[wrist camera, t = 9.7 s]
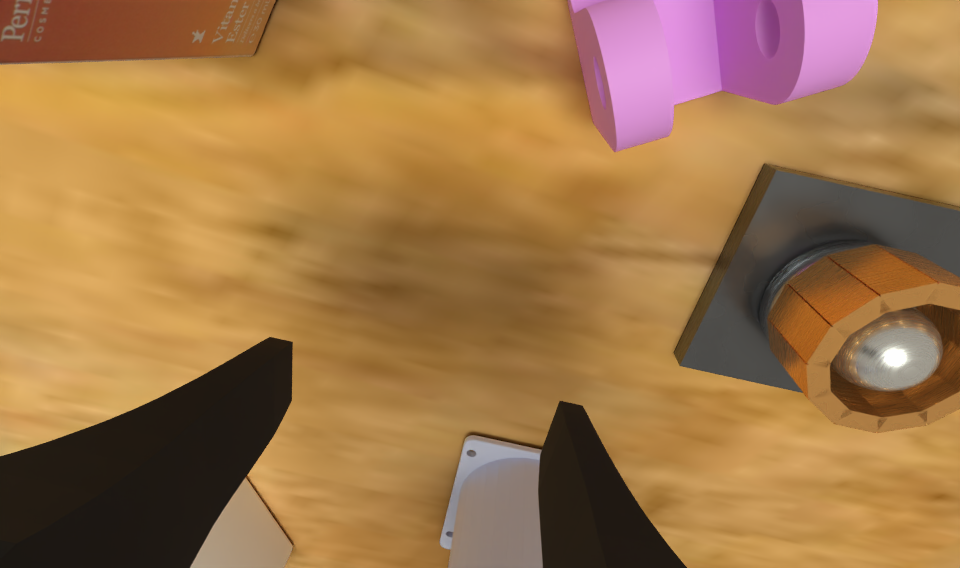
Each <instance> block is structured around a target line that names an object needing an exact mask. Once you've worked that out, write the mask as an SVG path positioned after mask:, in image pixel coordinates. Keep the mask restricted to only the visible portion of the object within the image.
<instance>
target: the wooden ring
mask: <svg viewBox="0 0 960 568" xmlns="http://www.w3.org/2000/svg"><path fill="white" fill-rule="evenodd" d="M787 283H788V284H786V285H785V287H784V288H783V290H782V292H781V294H780V295H779V297H778V299H777V301H776V302H775V304H774V306H773V308H772V309H771V311H770V313H769V315H768V318H767V324H768V334H769V345H770V350H771V351H772V353H773V354H774V355H775V357H776V358H777V359H778V360H779V362H780V363H781V364H782V366H783V367H784V368H785V370H786V371H787V372H788V373H789V375H790V376H791V377H792V379H793V380H794V381H795V383H796V384H797V385H798V386H799V388H800V389H801V390H802V392H803V393H804V394H805V396H806V397H807V398H808V399H809V401H811V402H812V403H813V404H814V405H815V406H816V407H817V408H818V409H819V410H820V411H821V412H822V413H823V414H824V415H825V416H826V417H827V418H828V419H829V420H830V421H831V422H833V423H834V424H837V425H841V426H846V427H850V428H855V429H860V430H864V431H869V432H873V433H876V432H877V433H881V432H887V431H894V430H900V429H907V428H913V427H920V426H926V423H927V424H928V425H929V424H931V423H933V422H935V421H937V420H939V419H941V418H943V417H945V416H946V415H948V414H950V413H952V412H954V411H956V410H958V409H960V277H958V276H956V275H955V274H953V273H951V272H949V271H947V270H946V269H944V268H942V267H940V266H939V265H937V264H935V263H933V262H931V261H930V260H928V259H926V258H924V257H922V256H921V255H919V254H917V253H913V252H909V251H904V250H900V249H895V248H891V247H886V246H882V245H877V244H875V245H874V244H872V245H868V246H863V247H859V248H855V249H851V250H846V251H842V252H838V253H834V254H830V255H827V257H826V256H824V257H823V258H821V259H820V260H819V261H817V262H816V263H814V264H813V265H811V266H810V267H809V268H807V269H806V270H804V271H803V272H801V273H800V274H799V275H797V276H796V277H794V278H793V279H792V280H790V281H789V282H787ZM911 307H916V309H917V310H919V311H920V312H922V313H923V314H924V315H925V316H927V317H928V318H929V319H930V320H931V321H932V323H933V324H934V325H935V327H936V328H937V330H938V332H939V334H940V336H941V340H942V344H943V354H942V358H941V361H940V364H939V366H938V368H937V369H936V371H935V372H934V373H933V374H932V375H931V376H930V377H929V378H928V379H927V380H925V381H924V382H922V383H921V384H919V385H917V386H914V387H912V388H908V389H905V390H900V391H887V392H885V391H875V390H870V389H866V388H863V387H860V386H858V385H855V384H853V383H851V382H849V381H848V380H846V379H845V378H843V377H842V376H841V375H840V374H838V373H837V372H836V371H835V370H834V369H833V368H832V366H831V365H830V363H831V362H832V360H833V359H834V357H835V356H836V354H837V353H838V351H839V350H840V348H841V347H842V345H843V344H844V343H845V341H846V340H847V338H848V337H849V335H851V334H852V333H854V332H856V331H857V330H859V329H860V328H862V327H864V326H865V325H867V324H868V323H870V322H872V321H873V320H875V319H877V318H878V317H880V316H881V315H883V314H885V313H887V312H891V311H896V310H901V309H906V308H911Z"/></svg>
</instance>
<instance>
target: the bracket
mask: <svg viewBox="0 0 960 568" xmlns="http://www.w3.org/2000/svg"><path fill="white" fill-rule="evenodd" d="M567 1H568V6H569V11H570V16H571V20H572V25H573V30H574V34H575V39H576V44H577V49H578V53H579V58H580V63H581V68H582V72H583V77H584V82H585V87H586V91H587V96H588V101H589V106H590V110H591V115H592V120H593V123H594V125H595V126H596V128H597V129H598V130H599V132H600V133H601V135H602V136H603V137H604V139H605V140H606V141H607V143H608V144H609V146H610V147H611V148H612V150H613V151H614V152H616V151H620V150H623V149H627V148H630V147H634V146H637V145H640V144H644V143H647V142H651V141H654V140H658V139H661V138H664V137H667V136H669V135H670V133H671V130H672V126H673V118H674V105H676V104H679V103H683V102H686V101H689V100H693V99H696V98H699V97H702V96H706V95H709V94H712V93H716V92H719V91H726V92H729V93H733V94H737V95H740V96H744V97H747V98H751V99H755V100H758V101H762V102H765V103H769V104H774V105H776V104H781V103H784V102H788V101H791V100H795V99H798V98H802V97H805V96H808V95H812V94H815V93H819V92H822V91H826V90H829V89H832V88H836V87H839V86H842V85H844V84H846V83H847V82H849V81H850V80H851V79H852V78H853V77H854V76H855V75H856V74H857V73H858V71H859V70H860V68H861V67H862V65H863V63H864V61H865V59H866V57H867V55H868V52H869V50H870V47H871V43H872V40H873V36H874V32H875V26H876V20H877V10H878V0H567Z"/></svg>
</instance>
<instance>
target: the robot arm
mask: <svg viewBox="0 0 960 568" xmlns="http://www.w3.org/2000/svg"><path fill="white" fill-rule="evenodd" d="M292 345H293V342H290V341H286V340H281V339H277V338H272V337H269V338H267V339H265V340H264V341H262V342H260V343H258V344H257V345H255V346H253V347H251V348H250V349H248V350H246V351H245V352H243V353H241V354H239V355H238V356H236V357H234V358H233V359H231V360H229V361H227V362H226V363H224V364H222V365H220V366H219V367H217V368H215V369H213V370H211V371H210V372H208V373H206V374H204V375H202V376H201V377H199V378H197V379H195V380H193V381H191V382H189V383H187V384H185V385H183V386H181V387H179V388H177V389H175V390H173V391H171V392H169V393H167V394H165V395H164V396H162V397H160V398H158V399H155V400H153V401H151V402H149V403H147V404H145V405H142V406H140V407H138V408H136V409H133V410H131V411H129V412H126V413H124V414H121V415H119V416H117V417H114V418H112V419H110V420H107V421H104V422H102V423H99V424H97V425H94V426H91V427H88V428H86V429H83V430H80V431H77V432H74V433H72V434H69V435H66V436H63V437H60V438H58V439H55V440H52V441H49V442H46V443H43V444H40V445H37V446H34V447H30V448H27V449H24V450H21V451H18V452H14V453H11V454H7V455H4V456H0V568H190V567H191V565H192V563H193V561H194V560H195V558H196V556H197V554H198V552H199V551H200V549H201V547H202V545H203V543H204V542H205V540H206V538H207V536H208V534H209V532H210V531H211V529H212V527H213V526H214V524H215V522H216V521H217V519H218V518H219V516H220V514H221V513H222V511H223V510H224V508H225V507H226V505H227V504H228V502H229V501H230V499H231V498H232V496H233V495H234V493H235V492H236V491H237V489H238V488H239V486H240V485H241V483H242V482H243V480H244V479H245V477H246V476H247V474H248V473H249V472H250V470H251V469H252V467H253V466H254V464H255V463H256V461H257V460H258V458H259V457H260V455H261V454H262V452H263V451H264V449H265V448H266V446H267V445H268V444H269V442H270V440H271V439H272V437H273V436H274V434H275V432H276V431H277V429H278V427H279V425H280V423H281V421H282V419H283V417H284V415H285V413H286V411H287V409H288V407H289V405H290V403H291V401H292ZM469 450H473V451H469ZM440 545H441V546H442V547H443V548H446V549H450V550H451V551H450V558H449V564H448V568H687V567H686V566H685V565H684V564H683V562H682V561H681V560H680V559H679V558H678V556H677V555H676V554H675V553H674V552H673V550H672V549H671V548H670V547H669V545H668V544H667V543H666V541H665V540H664V539H663V538H662V536H661V535H660V534H659V532H658V531H657V530H656V528H655V527H654V526H653V524H652V523H651V522H650V520H649V519H648V517H647V516H646V515H645V513H644V512H643V510H642V509H641V507H640V506H639V504H638V503H637V501H636V500H635V498H634V497H633V495H632V493H631V492H630V490H629V489H628V487H627V486H626V484H625V482H624V481H623V479H622V477H621V476H620V474H619V472H618V470H617V469H616V467H615V465H614V464H613V462H612V460H611V458H610V457H609V455H608V453H607V451H606V449H605V448H604V446H603V444H602V442H601V440H600V438H599V436H598V434H597V432H596V430H595V429H594V427H593V425H592V423H591V421H590V419H589V417H588V415H587V413H586V411H585V409H584V408H583V406H581V405H577V404H572V403H568V402H563V401H560V402H559V404H558V407H557V410H556V413H555V415H554V418H553V421H552V424H551V426H550V429H549V432H548V434H547V437H546V440H545V443H544V445H543V448H542V450H540V449H536V448H531V447H526V446H522V445H517V444H513V443H508V442H503V441H499V440H494V439H490V438H485V437H480V436H476V435H471V436H468V437H466V439H465V441H464V445H463V449H462V453H461V457H460V461H459V465H458V469H457V473H456V477H455V481H454V485H453V489H452V493H451V497H450V501H449V505H448V509H447V513H446V517H445V521H444V525H443V529H442V533H441V537H440Z"/></svg>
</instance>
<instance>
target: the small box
mask: <svg viewBox="0 0 960 568" xmlns="http://www.w3.org/2000/svg"><path fill="white" fill-rule="evenodd" d="M275 1H276V0H0V64H29V63H72V62H98V61H127V60H161V59H187V58H192V59H197V58H221V57H249V56H252V55H253V54H254V53H255V51H256V48H257V46H258V43H259V41H260V38H261V36H262V33H263V31H264V28H265V25H266V23H267V20H268V18H269V15H270V13H271V10H272V8H273V6H274V4H275Z"/></svg>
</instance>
